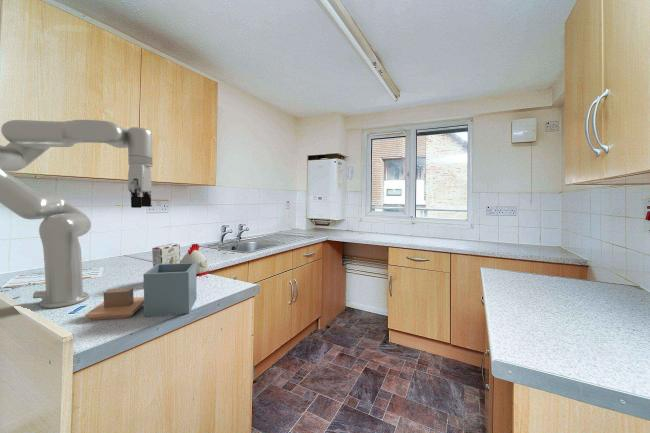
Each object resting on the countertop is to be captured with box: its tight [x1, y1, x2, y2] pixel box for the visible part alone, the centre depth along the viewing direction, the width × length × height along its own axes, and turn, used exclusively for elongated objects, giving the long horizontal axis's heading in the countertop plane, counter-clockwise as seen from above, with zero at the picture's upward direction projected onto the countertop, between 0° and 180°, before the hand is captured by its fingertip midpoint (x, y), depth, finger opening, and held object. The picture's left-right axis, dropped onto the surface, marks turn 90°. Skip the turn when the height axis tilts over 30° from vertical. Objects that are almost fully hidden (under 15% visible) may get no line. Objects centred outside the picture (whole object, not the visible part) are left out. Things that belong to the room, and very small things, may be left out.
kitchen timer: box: [180, 243, 210, 278], centre depth 134 cm, size 14×14×15 cm
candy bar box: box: [151, 243, 181, 268], centre depth 121 cm, size 11×5×16 cm, turn 168°
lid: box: [84, 287, 144, 321], centre depth 89 cm, size 13×13×8 cm
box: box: [143, 263, 197, 318], centre depth 93 cm, size 13×13×14 cm
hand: (141, 207), depth 102 cm, fingers open, 9 cm apart
